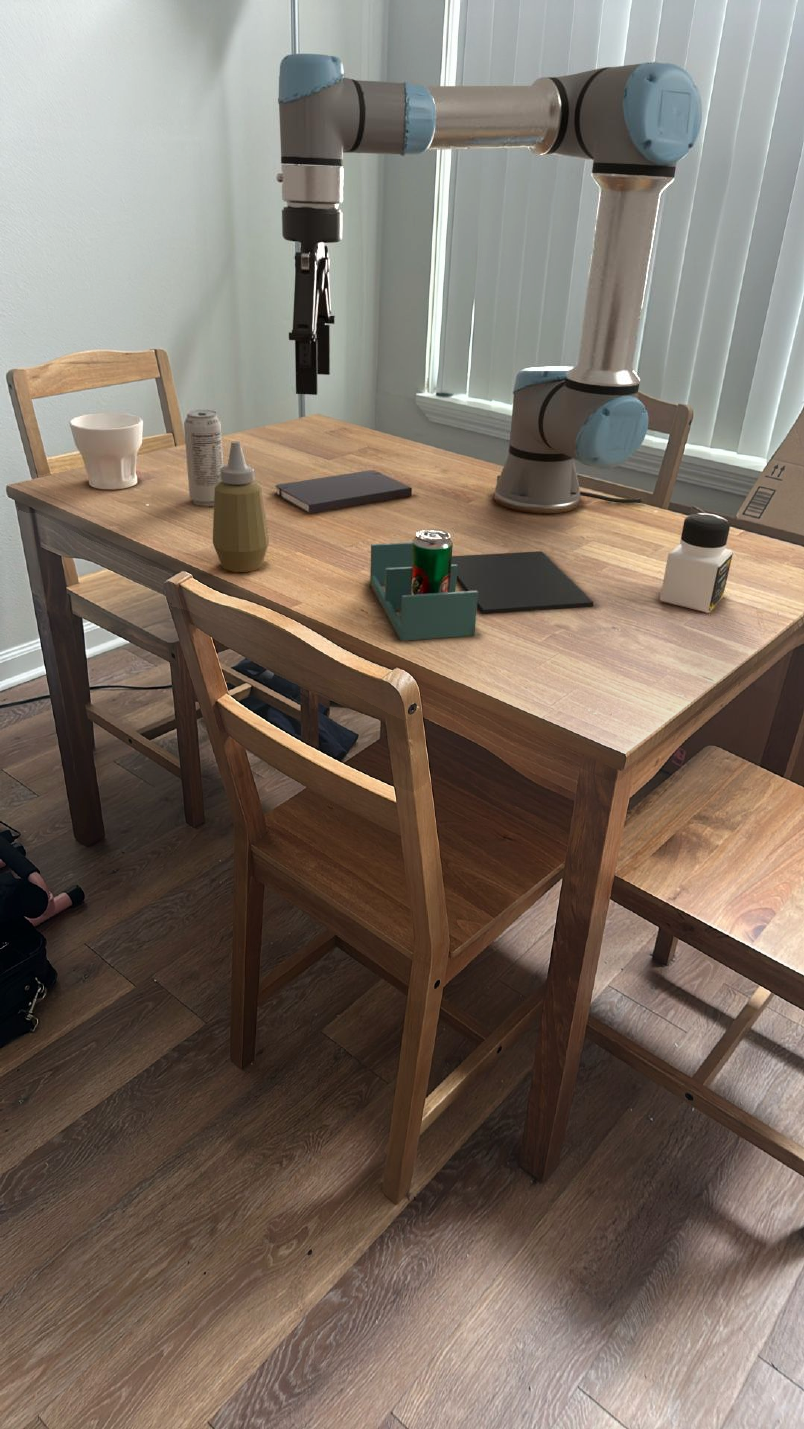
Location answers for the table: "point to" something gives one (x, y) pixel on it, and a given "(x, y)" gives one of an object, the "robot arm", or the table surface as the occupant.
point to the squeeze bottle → (239, 516)
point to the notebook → (342, 491)
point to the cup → (108, 448)
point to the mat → (517, 582)
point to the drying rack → (419, 598)
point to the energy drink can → (203, 455)
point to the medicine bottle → (698, 564)
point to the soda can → (431, 562)
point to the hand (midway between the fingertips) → (313, 383)
